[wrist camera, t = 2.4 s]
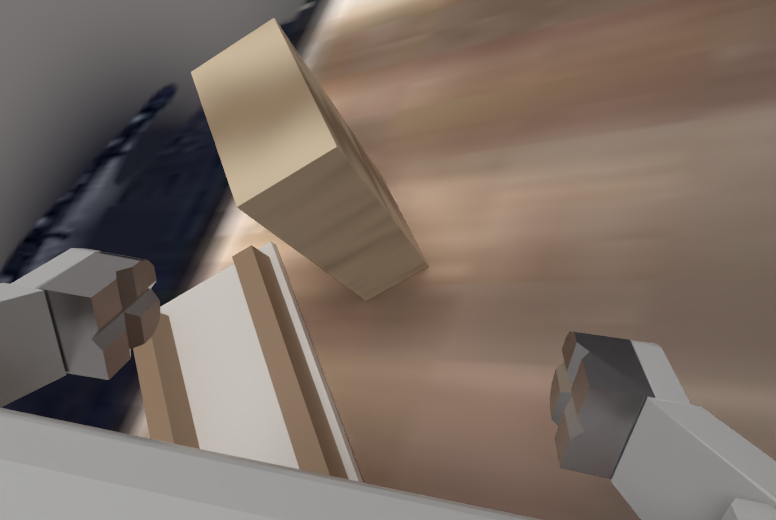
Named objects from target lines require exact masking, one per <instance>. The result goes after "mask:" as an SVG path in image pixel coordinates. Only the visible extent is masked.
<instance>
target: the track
mask: <svg viewBox="0 0 776 520" xmlns="http://www.w3.org/2000/svg"><path fill="white" fill-rule="evenodd" d="M232 258H233V261H234V264H232V265H231V266H229V267H227V268H226V269H224V270H222V271H221V272H219V273H217V274H215V275H214V276H212V277H210V278H209V279H207V280H205V281H204V282H202V283H200V284H199V285H197V286H195V287H193V288H192V289H190V290H188V291H187V292H185V293H183V294H182V295H180V296H178V297H176V298H175V299H173V300H171V301H170V302H168V303H166V304H165V305H163V306H161V307H160V319H159V323H158V325H157V328H156V330H155V332H154V334H153V336H152V337H151V338H150V339H149V340H148V341H147V342H146V343H145V344H143V345H140V346H138V347H135V348H133V350H134V355H135V360H136V366H137V371H138V376H139V381H140V387H141V392H142V397H143V402H144V408H145V413H146V418H147V423H148V428H149V434H150V439H153V440H158V441H163V442H168V443H173V444H178V445H183V446H188V447H193V448H197V449H202V450H207V451H212V452H217V453H222V454H227V455H232V456H237V457H242V458H246V459H251V460H256V461H261V462H266V463H271V464H276V465H281V466H286V467H290V468H295V469H300V470H305V471H310V472H315V473H320V474H325V475H330V476H334V477H339V478H344V479H349V480H354V481H359V482H363V480H362V478H361V475H360V472H359V469H358V467H357V464H356V461H355V459H354V456H353V453H352V450H351V448H350V445H349V442H348V440H347V437H346V434H345V431H344V429H343V426H342V423H341V421H340V418H339V415H338V412H337V410H336V407H335V404H334V402H333V399H332V396H331V393H330V391H329V388H328V385H327V383H326V380H325V377H324V374H323V372H322V369H321V366H320V364H319V361H318V358H317V356H316V353H315V350H314V347H313V345H312V342H311V339H310V337H309V334H308V331H307V328H306V326H305V323H304V320H303V318H302V315H301V312H300V309H299V307H298V304H297V301H296V299H295V296H294V293H293V290H292V288H291V285H290V282H289V280H288V277H287V274H286V271H285V269H284V266H283V263H282V261H281V258H280V255H279V252H278V250H277V247H276V245H275V244H274V243H272V242H270V243H268V244H266V245H265V246H263V247H261V248H260V249H256V248H255V247H253V246H250V247H248V248H246V249H244V250H243V251H241V252H239V253H238V254H236V255H234V256H233V257H232Z"/></svg>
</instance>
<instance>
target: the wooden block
mask: <svg viewBox="0 0 776 520" xmlns="http://www.w3.org/2000/svg"><path fill="white" fill-rule="evenodd" d="M191 74H192V77H193V80H194V83H195V85H196V89H197V91H198V94H199V97H200V100H201V103H202V106H203V109H204V112H205V115H206V118H207V121H208V124H209V127H210V130H211V133H212V135H213V138H214V141H215V144H216V147H217V150H218V153H219V156H220V159H221V162H222V165H223V168H224V171H225V174H226V177H227V179H228V182H229V185H230V188H231V191H232V194H233V197H234V200H235V203H236V206H237V208H239V209H240V210H242V211H243V212H244V213H246V214H247V215H248V216H250V217H251V218H253V219H254V220H255V221H257V222H258V223H259V224H261V225H262V226H264V227H265V228H266V229H268V230H269V231H270V232H272V233H273V234H275V235H276V236H277V237H279V238H280V239H281V240H283V241H284V242H286V243H287V244H288V245H290V246H291V247H292V248H294V249H295V250H297V251H298V252H299V253H301V254H302V255H303V256H305V257H306V258H308V259H309V260H310V261H312V262H313V263H315V264H316V265H317V266H319V267H320V268H321V269H323V270H324V271H326V272H327V273H328V274H330V275H331V276H332V277H334V278H335V279H337V280H338V281H339V282H341V283H342V284H343V285H345V286H346V287H348V288H349V289H350V290H352V291H353V292H354V293H356V294H357V295H359V296H360V297H361V298H363V299H364V300H365V301H368V300H369V299H371V298H373V297H375V296H377V295H379V294H380V293H382V292H384V291H386V290H388V289H389V288H391V287H393V286H395V285H397V284H398V283H400V282H402V281H404V280H406V279H407V278H409V277H411V276H413V275H415V274H416V273H418V272H420V271H422V270H424V269H425V268H427V267H429V266H428V264H427V262H426V260H425V258H424V256H423V254H422V252H421V250H420V248H419V247H418V245H417V243H416V241H415V239H414V237H413V235H412V233H411V231H410V229H409V227H408V226H407V224H406V222H405V220H404V218H403V216H402V214H401V212H400V210H399V208H398V206H397V205H396V203H395V201H394V199H393V197H392V195H391V193H390V191H389V189H388V187H387V185H386V184H385V182H384V180H383V178H382V176H381V174H380V172H379V171H378V169H377V168H376V166H375V165H374V163H373V162H372V160H371V159H370V157H369V156H368V154H367V153H366V151H365V150H364V149H363V147H362V146H361V144H360V143H359V141H358V140H357V138H356V137H355V135H354V134H353V132H352V131H351V130H350V128H349V127H348V125H347V124H346V122H345V121H344V119H343V118H342V116H341V115H340V113H339V112H338V111H337V109H336V108H335V106H334V105H333V103H332V102H331V100H330V99H329V97H328V96H327V94H326V93H325V91H324V90H323V89H322V87H321V86H320V84H319V83H318V81H317V80H316V78H315V77H314V75H313V74H312V72H311V71H310V70H309V68H308V67H307V65H306V64H305V62H304V61H303V59H302V58H301V56H300V55H299V53H298V52H297V51H296V49H295V48H294V46H293V45H292V43H291V42H290V40H289V39H288V37H287V36H286V34H285V33H284V31H283V30H282V29H281V27H280V26H279V24H278V23H277V21H276V20H275V18H273V19H271V20H270V21H269V22H267V23H265V24H264V25H262V26H261V27H259V28H258V29H256V30H255V31H253V32H252V33H250V34H248V35H247V36H245V37H244V38H242V39H241V40H239V41H238V42H236V43H235V44H233V45H232V46H230V47H229V48H227V49H226V50H224V51H222V52H221V53H219V54H218V55H216V56H215V57H213V58H212V59H210V60H209V61H207V62H206V63H204V64H203V65H201V66H200V67H198V68H197V69H195V70H193V71H192V72H191Z"/></svg>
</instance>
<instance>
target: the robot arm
mask: <svg viewBox="0 0 776 520" xmlns="http://www.w3.org/2000/svg"><path fill="white" fill-rule="evenodd" d="M155 282H156V276H155V270H154V266H153V265H152V264H151V263H150V262H149V261H148V260H144V259H138V258H133V257H128V256H122V255H117V254H112V253H106V252H100V251H97V250H90V249H83V248H71V249H69V250H68V251H66V252H64V253H62V254H61V255H59V256H57V257H56V258H54V259H52V260H51V261H49V262H47V263H45V264H44V265H42V266H40V267H39V268H37V269H35V270H33V271H32V272H30V273H28V274H27V275H25V276H23V277H22V278H20V279H18V280H16V281H15V282H13V283H11V284H7V283H0V407H2V406H4V405H6V404H8V403H10V402H12V401H14V400H16V399H18V398H20V397H22V396H25V395H27V394H29V393H31V392H33V391H35V390H37V389H39V388H41V387H43V386H45V385H47V384H49V383H51V382H53V381H55V380H57V379H59V378H61V377H63V376H65V375H66V373H70V374H76V375H82V376H88V377H94V378H100V379H106V380H109V379H110V378H111V377H112V376H113V375H114V374H115V373H116V372H117V371H118V370H119V369H120V368H121V367H122V366H123V365H124V364H125V363H126V362H127V361H128V360H129V359H130V358H131V350H130V349H133V348H135V347H138V346H140V345H143V344H145V343H146V342H147V341H148V340H149V339H150V338H151V337H152V336H153V334H154V332H155V330H156V328H157V325H158V323H159V319H160V302H159V299H158V297H157V296H156V295H155V294H154V292H153V291H152V290H151V287H152V286H153V285H154V283H155ZM562 352H563V357H564V362H565V363H564V364H562V365H561V366H559V367H558V368H556V370H555V374H554V378H553V381H552V386H551V394H550V410H551V417H552V420H553V421H554V422H555V423H556V424H557V425H558V426H559V427H558V430H557V433H556V436H555V441H556V447H557V453H558V458H559V464H560V468H563V469H568V470H572V471H577V472H581V473H586V474H590V475H595V476H599V477H604V478H608V479H612V480H611V482H612V484H613V485H614V486H615V487H616V489H617V490H618V491H619V492H620V494H621V495H622V496H623V497H624V499H625V500H626V501H627V503H628V504H629V505H630V506H631V508H632V509H633V510H634V511H635V513H636V514H637V515H638V516H639V518H640V519H641V520H776V461H775V460H773V459H772V458H771V457H769V456H768V455H767V454H765V453H764V452H762V451H761V450H760V449H758V448H757V447H756V446H754V445H753V444H752V443H750V442H749V441H747V440H746V439H745V438H743V437H742V436H741V435H739V434H738V433H737V432H735V431H734V430H732V429H731V428H730V427H728V426H727V425H726V424H724V423H723V422H722V421H720V420H719V419H717V418H716V417H715V416H713V415H712V414H711V413H709V412H708V411H707V410H705V409H704V408H702V407H701V406H695V405H691V403H690V401H689V399H688V397H687V395H686V393H685V391H684V390H683V388H682V386H681V384H680V382H679V380H678V378H677V376H676V374H675V373H674V371H673V369H672V367H671V365H670V363H669V361H668V359H667V357H666V356H665V354H664V352H663V350H662V348H661V347H660V346H659V345H658V344H656V343H651V342H643V341H635V340H628V339H620V338H613V337H606V336H599V335H592V334H585V333H577V332H570V331H569V333H568V335H567V337H566V339H565V342H564V345H563V348H562ZM0 520H542V519H537V518H532V517H528V516H523V515H518V514H513V513H508V512H503V511H499V510H494V509H489V508H484V507H479V506H474V505H470V504H465V503H460V502H455V501H450V500H446V499H441V498H436V497H431V496H426V495H421V494H417V493H412V492H407V491H402V490H397V489H392V488H388V487H383V486H378V485H373V484H368V483H363V482H359V481H354V480H349V479H344V478H339V477H334V476H330V475H325V474H320V473H315V472H310V471H305V470H300V469H295V468H290V467H286V466H281V465H276V464H271V463H266V462H261V461H256V460H251V459H246V458H242V457H237V456H232V455H227V454H222V453H217V452H212V451H207V450H202V449H197V448H193V447H188V446H183V445H178V444H173V443H168V442H163V441H158V440H153V439H149V438H144V437H139V436H134V435H129V434H124V433H120V432H115V431H110V430H105V429H100V428H95V427H91V426H86V425H81V424H76V423H71V422H66V421H61V420H57V419H52V418H47V417H42V416H37V415H32V414H28V413H23V412H18V411H13V410H8V409H3V408H0Z"/></svg>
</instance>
